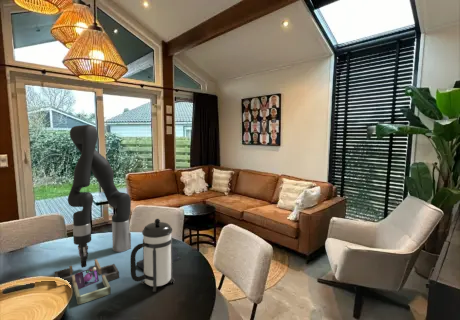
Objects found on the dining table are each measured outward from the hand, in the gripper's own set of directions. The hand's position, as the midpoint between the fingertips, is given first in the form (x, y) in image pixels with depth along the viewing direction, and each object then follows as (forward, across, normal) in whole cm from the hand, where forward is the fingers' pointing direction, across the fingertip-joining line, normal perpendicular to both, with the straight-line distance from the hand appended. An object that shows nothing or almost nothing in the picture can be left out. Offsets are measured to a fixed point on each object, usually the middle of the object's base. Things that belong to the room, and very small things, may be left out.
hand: (83, 266), depth 127 cm
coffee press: (+2, -33, -24) cm, 41 cm away
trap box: (+2, -14, 0) cm, 14 cm away
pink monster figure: (+2, -14, +1) cm, 14 cm away
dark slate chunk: (+2, -14, -33) cm, 36 cm away
